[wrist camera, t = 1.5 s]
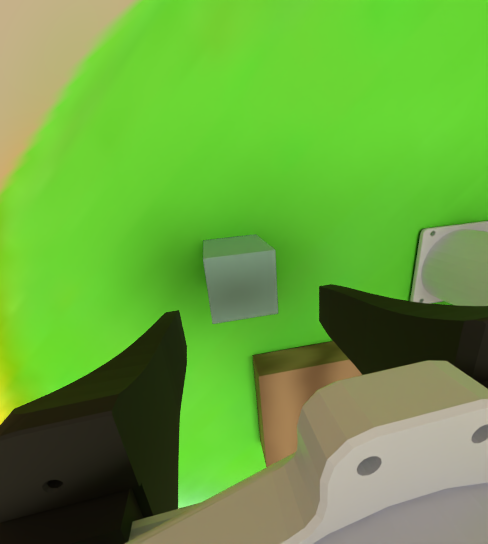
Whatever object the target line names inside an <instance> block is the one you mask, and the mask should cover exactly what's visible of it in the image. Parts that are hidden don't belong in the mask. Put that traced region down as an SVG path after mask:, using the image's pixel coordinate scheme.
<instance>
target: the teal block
mask: <svg viewBox="0 0 488 544" xmlns="http://www.w3.org/2000/svg"><path fill="white" fill-rule="evenodd" d="M203 262H204V269H205V276H206V282H207V289H208V296H209V303H210V309H211V316H212V323H213V324H215V323H221V322H228V321H234V320H240V319H247V318H253V317H259V316H265V315H272V314H278V299H277V277H276V255H275V249H274V248H272V247H271V246H270V245H269V244H267V243H266V242H265V241H264V240H262V239H261V238H260V237H259V236H257V235H256V234H254V235H246V236H237V237H228V238H220V239H211V240H203Z"/></svg>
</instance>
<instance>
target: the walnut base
mask: <svg viewBox="0 0 488 544" xmlns="http://www.w3.org/2000/svg"><path fill="white" fill-rule="evenodd" d="M253 365H254V376H255V387H256V398H257V409H258V420H259V431H260V441H261V445H262V449H263V454H264V458H265V463H266V467H268V466H270V465H272V464H274V463H276V462H278V461H280V460H282V459H283V458H285V457H287V456H289V455H291V454H293V453H295V452H296V451H297V444H298V439H297V423H298V420H299V416H300V413H301V409H302V407H303V405H304V404H305V403H306V402H307V401H308V400H309V399H310V397H311V396H312V395H313V394H314V393H315V392H316V391H317V390H318V389H320V388H323V387H325V386H327V385H329V384H331V383H334V382H336V381H339V380H344V379H348V378H352V377H357V376H361V375H362V374H361V372H360V371H359V370H358V369H357V368H356V366H355V365H354V364H353V363H352V362H351V361H350V360H349V358H348V357H347V356H346V355H345V354H344V353H343V352H342V351H341V349H340V348H339V347H338V346H337V345H336V344H335V342H334V341H331V342H325V343H320V344H314V345H309V346H303V347H297V348H292V349H286V350H280V351H275V352H269V353H263V354H258V355H253Z"/></svg>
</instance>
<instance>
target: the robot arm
mask: <svg viewBox="0 0 488 544" xmlns="http://www.w3.org/2000/svg"><path fill="white" fill-rule="evenodd" d="M431 232H432V233H431ZM430 234H431V235H430ZM441 301H446V302H448V303H450V304H452V305H440V304H429V303H435V302H441ZM319 321H320V323H321V324H322V326H323V328H324V329H325V331H326V332H327V334H328V335H329V337H330V338H331V339H332V340H333V341H334V342H335V344H336V345H337V346H338V347H339V348H340V349H341V351H342V352H343V353H344V354H345V355H346V356H347V357H348V358H349V360H350V361H351V362H352V363H353V364H354V365H355V366H356V368H357V369H358V370H359V371H360V372H361V374H362V375H361V376H357V377H352V378H348V379H344V380H339V381H336V382H334V383H331V384H329V385H327V386H325V387H323V388H320V389H318V390H317V391H316V392H315V393H314V394H313V395H312V396H311V397H310V399H309V400H308V401H307V402H306V403H305V404H304V405H303V407H302V409H301V413H300V416H299V420H298V423H297V439H298V444H297V451H296V452H295V453H293V454H291V455H289V456H287V457H285V458H283V459H282V460H280V461H278V462H276V463H274V464H272V465H270V466H268V467H267V468H265V469H263V470H261V471H259V472H257V473H255V474H254V475H252V476H250V477H248V478H246V479H244V480H242V481H240V482H239V483H237V484H235V485H233V486H231V487H229V488H227V489H226V490H224V491H222V492H220V493H218V494H216V495H214V496H212V497H211V498H209V499H207V500H205V501H203V502H201V503H197V504H194V505H190V506H187V507H183V508H179V509H178V455H179V422H180V409H181V401H182V394H183V387H184V380H185V373H186V365H187V345H186V341H185V336H184V331H183V327H182V322H181V317H180V313H179V310H178V311H172V312H166V313H165V314H164V315H163V316H162V317H161V318H160V319H159V320H158V321H157V322H156V323H155V324H154V325H153V326H151V327H150V328H149V329H148V330H147V331H146V332H145V333H144V334H143V335H142V336H141V337H140V338H139V339H137V340H136V341H135V342H134V343H133V344H132V345H131V346H129V347H128V348H127V349H125V350H124V351H123V352H122V353H120V354H119V355H117V356H116V357H115V358H113V359H112V360H110V361H109V362H107V363H105V364H104V365H102V366H101V367H99V368H97V369H96V370H94V371H92V372H91V373H89V374H87V375H86V376H84V377H82V378H80V379H78V380H76V381H75V382H73V383H71V384H69V385H67V386H65V387H63V388H61V389H59V390H56V391H54V392H52V393H50V394H48V395H45V396H43V397H41V398H39V399H36V400H34V401H32V402H29V403H27V404H25V405H22V406H20V407H18V408H15V409H14V410H13V411H12V412H11V413H10V414H9V416H8V417H7V418H6V419H5V420H4V421H3V423H2V424H1V425H0V544H488V221H481V222H473V223H465V224H457V225H449V226H441V227H433V228H425V229H423V230H422V231H421V233H420V239H419V246H418V252H417V259H416V266H415V272H414V279H413V285H412V292H411V298H410V301H405V300H399V299H393V298H388V297H384V296H379V295H375V294H370V293H366V292H362V291H359V290H355V289H351V288H347V287H343V286H338V285H331V284H330V285H324V286H319Z"/></svg>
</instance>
